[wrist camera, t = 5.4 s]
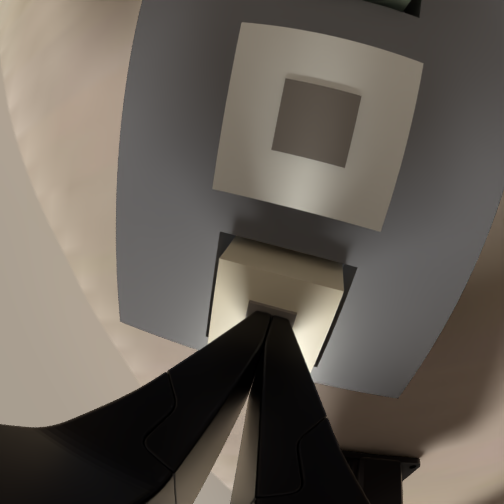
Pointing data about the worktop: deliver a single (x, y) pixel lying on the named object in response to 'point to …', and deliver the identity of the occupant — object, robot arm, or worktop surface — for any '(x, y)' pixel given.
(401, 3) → the key
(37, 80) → the worktop surface
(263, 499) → the robot arm
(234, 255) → the key
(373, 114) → the key mid
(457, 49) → the gray key socket board
